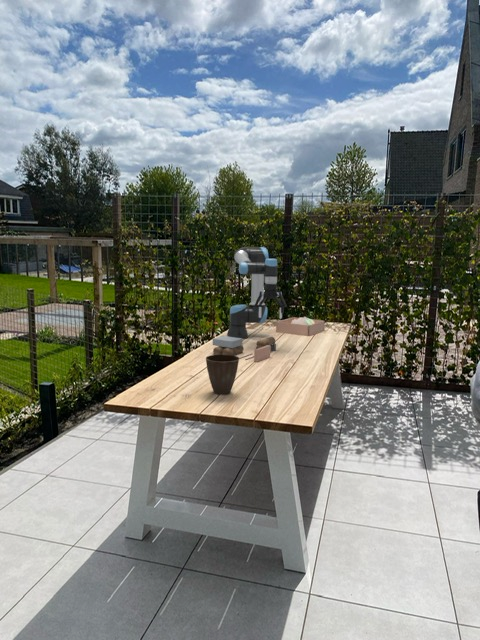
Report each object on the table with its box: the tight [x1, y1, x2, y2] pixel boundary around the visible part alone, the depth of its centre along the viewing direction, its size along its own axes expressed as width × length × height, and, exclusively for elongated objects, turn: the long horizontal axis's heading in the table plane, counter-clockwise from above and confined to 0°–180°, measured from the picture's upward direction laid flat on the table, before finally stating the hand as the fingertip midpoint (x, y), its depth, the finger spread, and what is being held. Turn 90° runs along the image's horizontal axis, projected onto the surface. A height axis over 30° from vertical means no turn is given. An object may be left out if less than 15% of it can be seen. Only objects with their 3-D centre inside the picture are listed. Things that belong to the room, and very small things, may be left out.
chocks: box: [212, 351, 254, 361], centre depth 298 cm, size 16×23×1 cm
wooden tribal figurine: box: [291, 316, 314, 325], centre depth 383 cm, size 14×14×24 cm
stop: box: [253, 345, 271, 363], centre depth 288 cm, size 16×2×7 cm, turn 149°
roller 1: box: [212, 346, 227, 355], centre depth 302 cm, size 16×5×5 cm, turn 149°
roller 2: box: [222, 344, 244, 356], centre depth 299 cm, size 16×5×5 cm, turn 149°
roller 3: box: [256, 336, 276, 348], centre depth 307 cm, size 16×5×5 cm, turn 149°
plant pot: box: [205, 354, 240, 396], centre depth 221 cm, size 15×15×16 cm
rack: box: [254, 342, 277, 352], centre depth 307 cm, size 16×6×4 cm, turn 149°
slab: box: [212, 335, 244, 348], centre depth 300 cm, size 12×14×4 cm
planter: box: [275, 316, 326, 337], centre depth 384 cm, size 30×27×8 cm
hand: (270, 318), depth 305 cm, fingers open, 13 cm apart
